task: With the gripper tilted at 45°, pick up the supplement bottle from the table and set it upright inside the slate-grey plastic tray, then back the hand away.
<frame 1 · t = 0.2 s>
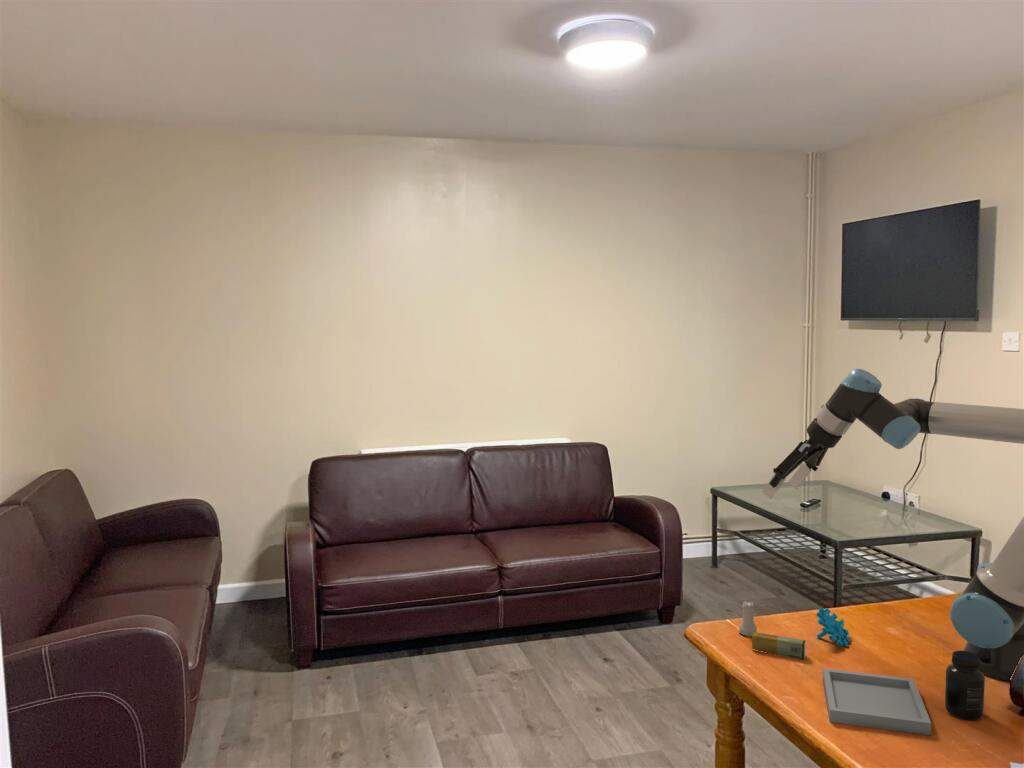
hand: (779, 490, 198), 35 cm above the table, tool tilted 35°, fingers open, 13 cm apart
supplement bottle: (963, 713, 158), on the table
rook chess piece: (747, 634, 196), on the table
tray: (872, 705, 161), on the table
blue bumpy irregular piece: (833, 642, 191), on the table
medication box: (778, 654, 186), on the table
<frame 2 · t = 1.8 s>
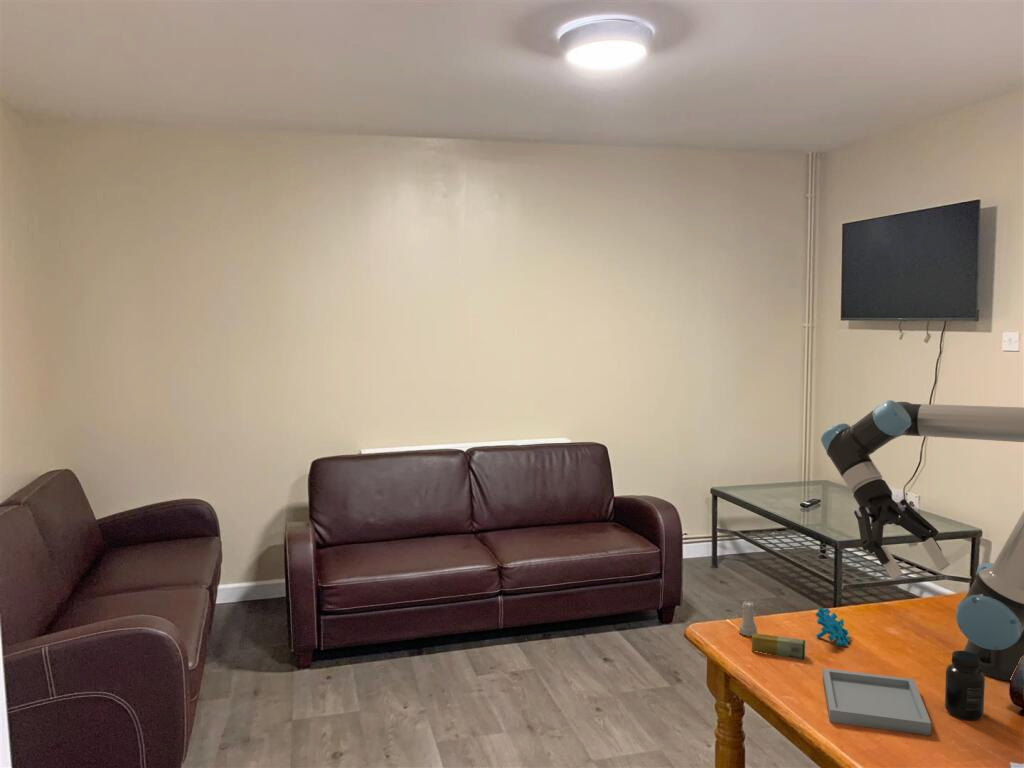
hand: (921, 572, 165), 26 cm above the table, tool tilted 45°, fingers open, 13 cm apart
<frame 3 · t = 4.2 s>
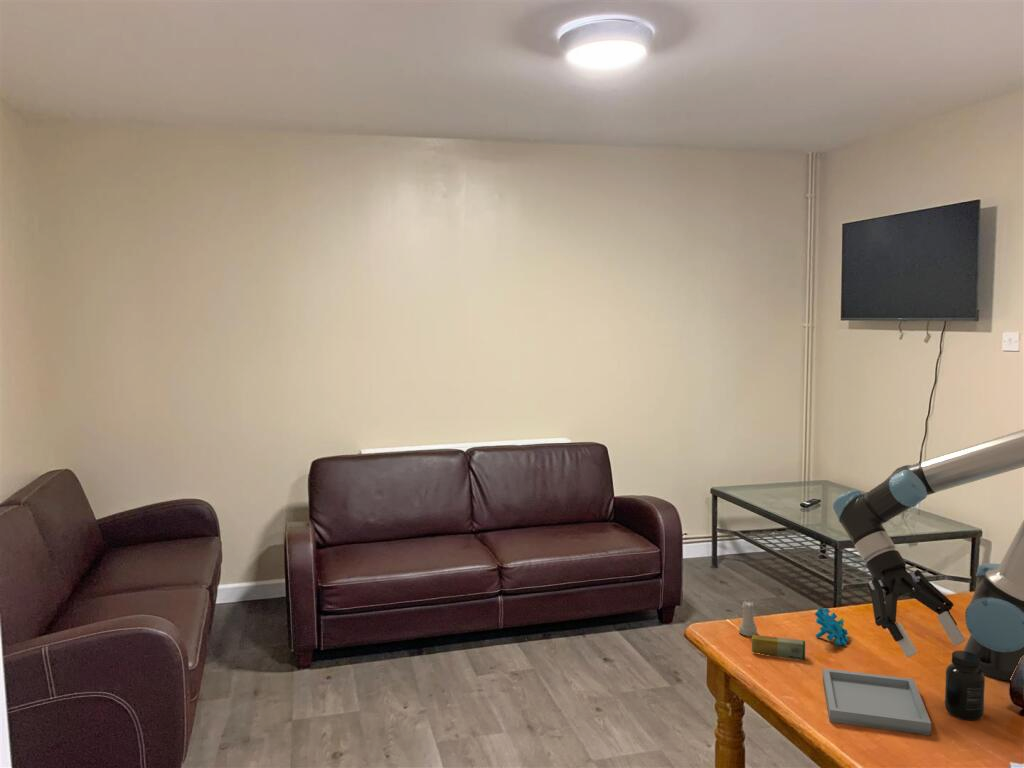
hand: (936, 649, 162), 11 cm above the table, tool tilted 45°, fingers open, 13 cm apart
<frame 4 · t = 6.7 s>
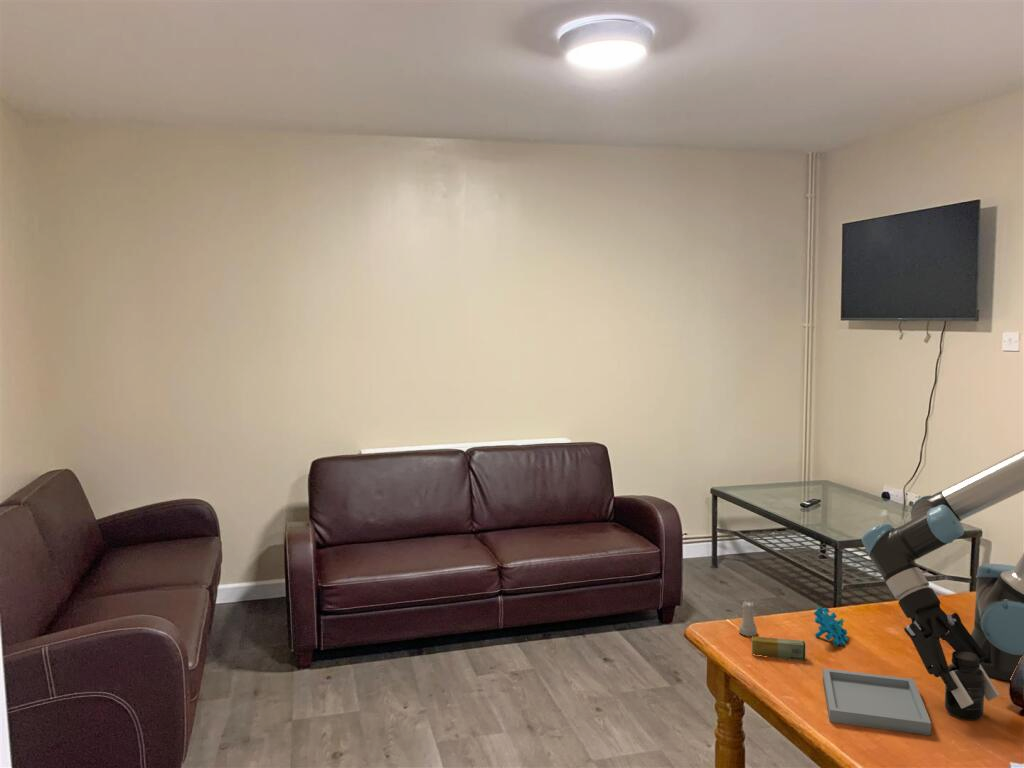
hand: (980, 701, 155), 4 cm above the table, tool tilted 45°, fingers closed on supplement bottle, 7 cm apart
supplement bottle: (963, 713, 158), on the table, touching gripper
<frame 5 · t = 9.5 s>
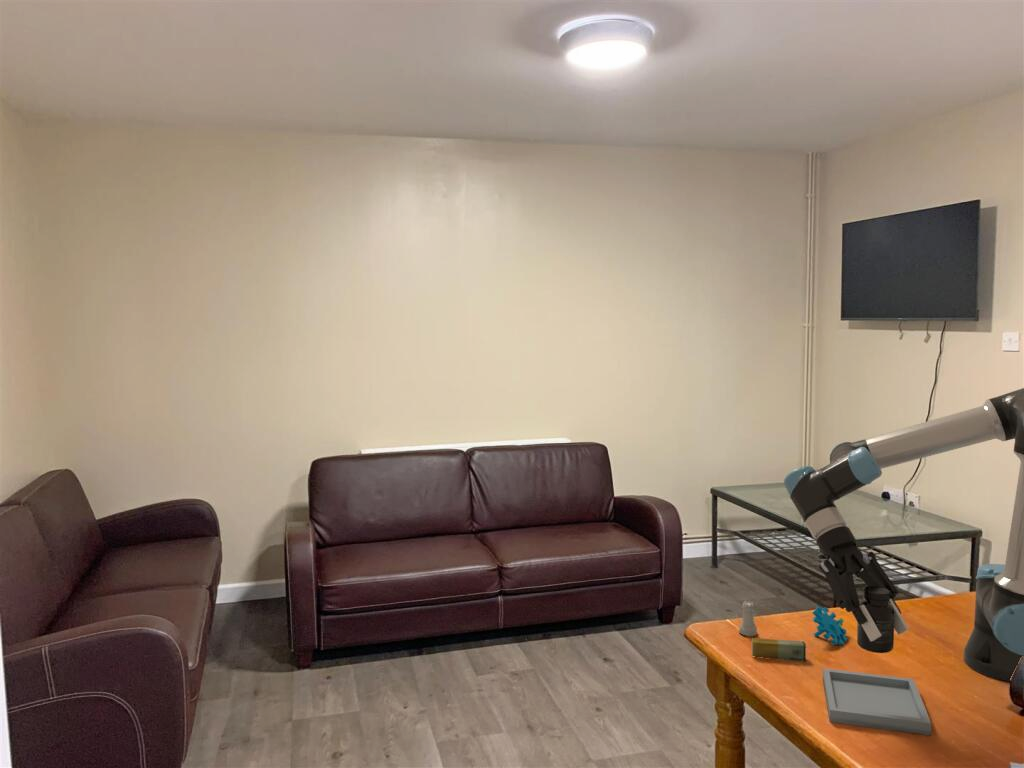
hand: (890, 635, 156), 17 cm above the table, tool tilted 45°, fingers closed on supplement bottle, 7 cm apart
supplement bottle: (874, 647, 160), point 12 cm above the table, touching gripper
when the fingers open (6 cm above the table, at t = 12.2 s): supplement bottle drops 1 cm, resting on tray.
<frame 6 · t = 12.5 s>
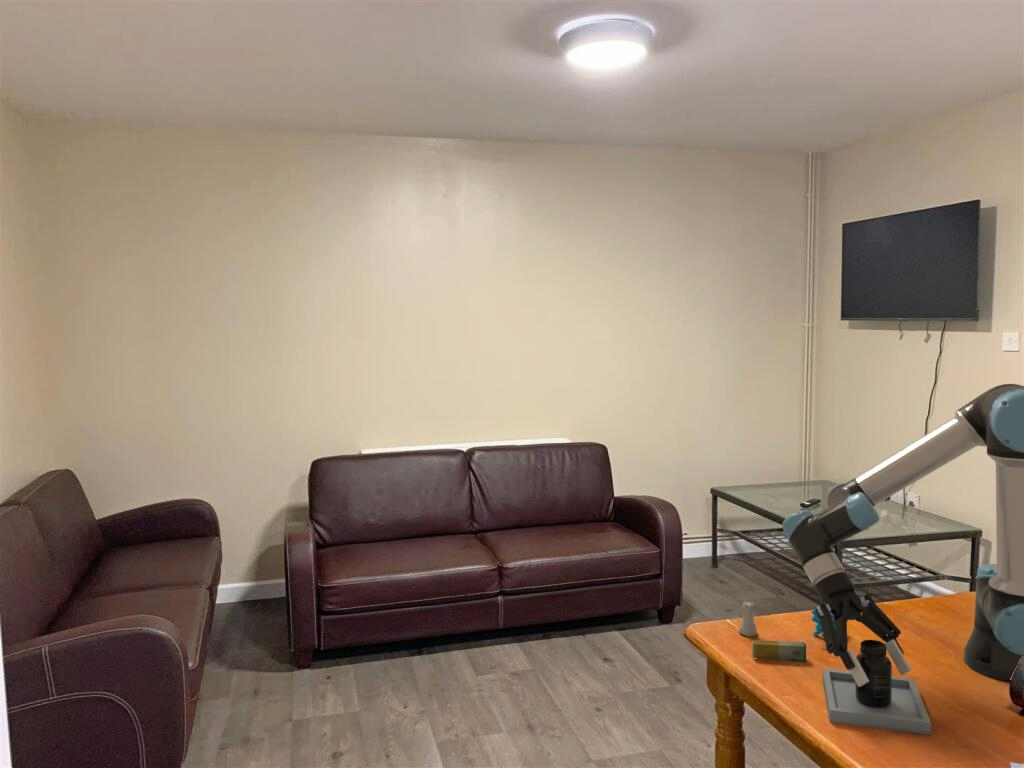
hand: (885, 678, 158), 7 cm above the table, tool tilted 45°, fingers open, 11 cm apart
supplement bottle: (872, 701, 161), point 1 cm above the table, touching tray
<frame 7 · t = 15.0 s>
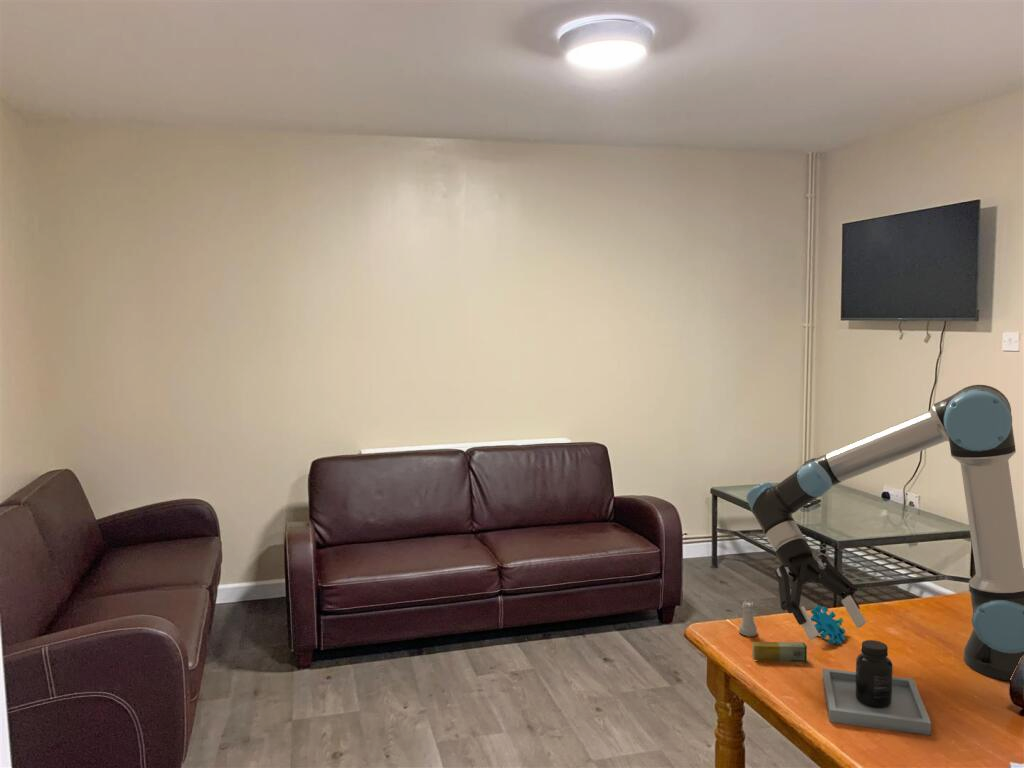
hand: (838, 631, 170), 11 cm above the table, tool tilted 45°, fingers open, 13 cm apart
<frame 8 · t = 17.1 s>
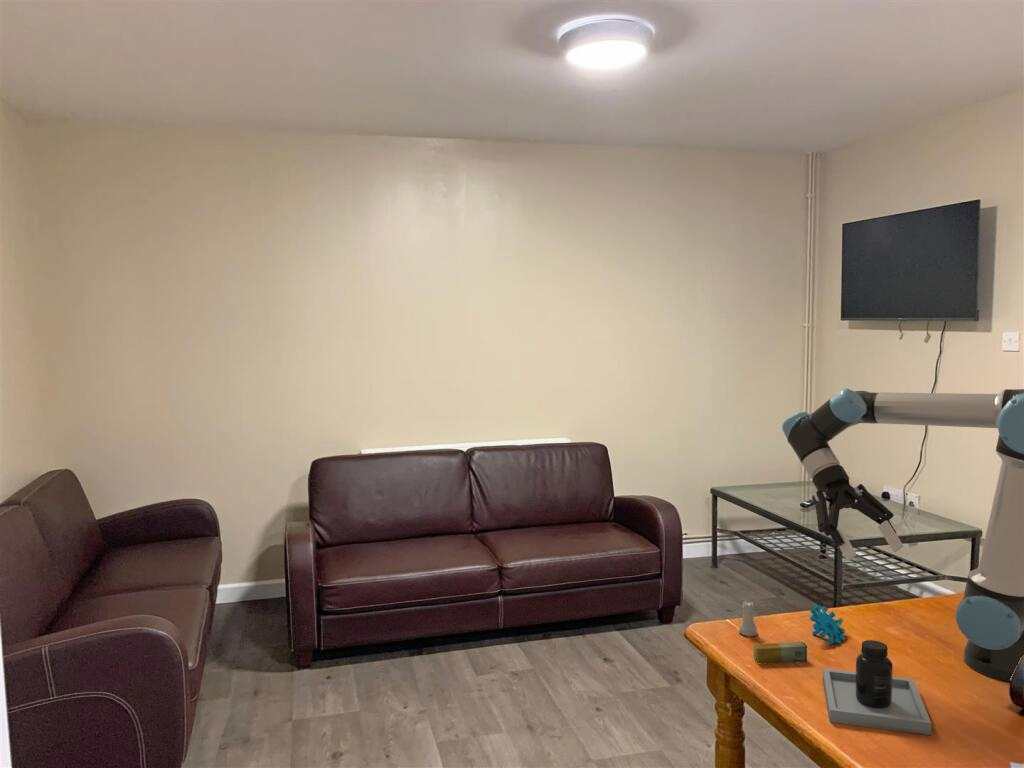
hand: (876, 553, 171), 28 cm above the table, tool tilted 45°, fingers open, 13 cm apart
at the end: supplement bottle inside the target area on the tray (0.1 cm from its centre), point 0.8 cm above the tray's base; supplement bottle tilted 0°; the gripper is holding nothing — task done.
